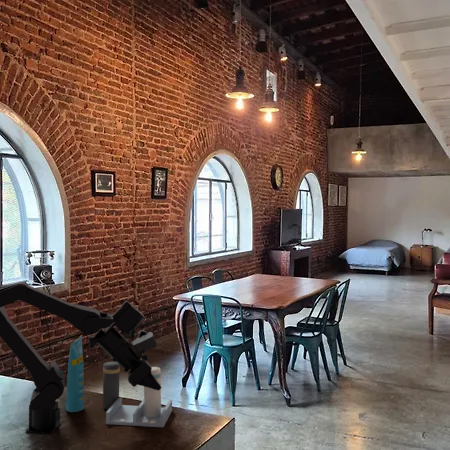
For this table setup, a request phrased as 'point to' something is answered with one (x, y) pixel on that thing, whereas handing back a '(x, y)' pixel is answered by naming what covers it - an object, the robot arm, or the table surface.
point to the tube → (75, 378)
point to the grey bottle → (110, 383)
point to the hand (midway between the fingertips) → (158, 385)
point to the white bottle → (153, 397)
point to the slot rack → (136, 415)
